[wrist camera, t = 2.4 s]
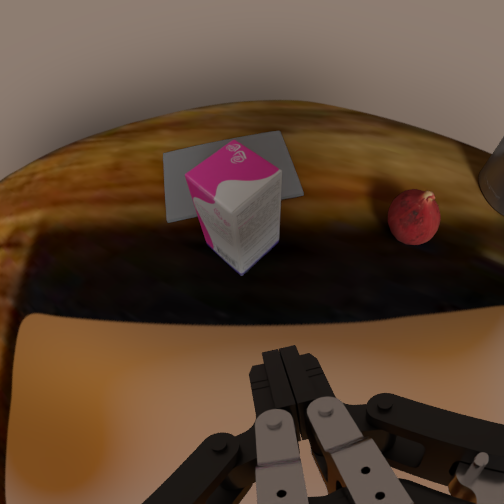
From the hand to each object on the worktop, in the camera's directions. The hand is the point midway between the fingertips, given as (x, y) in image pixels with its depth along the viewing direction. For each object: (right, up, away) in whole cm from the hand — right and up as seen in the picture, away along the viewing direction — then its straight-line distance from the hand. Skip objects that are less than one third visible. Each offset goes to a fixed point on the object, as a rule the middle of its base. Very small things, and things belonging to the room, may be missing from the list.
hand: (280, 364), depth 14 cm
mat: (-4, +15, +26) cm, 30 cm away
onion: (+16, +7, +21) cm, 27 cm away
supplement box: (-2, +6, +21) cm, 22 cm away
